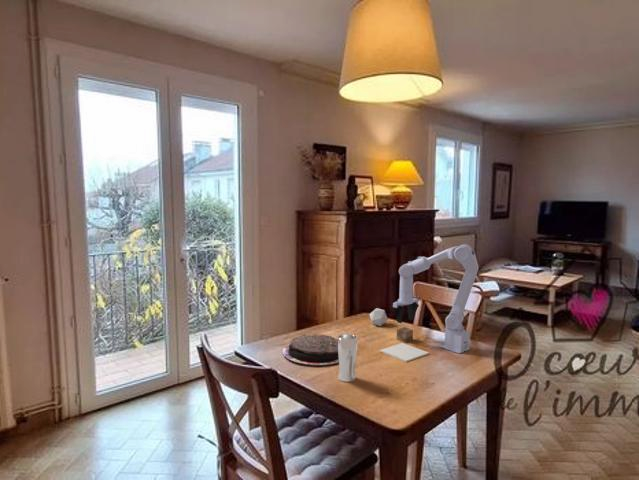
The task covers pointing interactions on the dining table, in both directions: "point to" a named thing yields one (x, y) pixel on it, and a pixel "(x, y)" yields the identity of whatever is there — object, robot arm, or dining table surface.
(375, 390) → the dining table surface
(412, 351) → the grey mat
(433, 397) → the dining table surface
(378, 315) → the die
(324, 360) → the chocolate cake
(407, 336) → the walnut cube
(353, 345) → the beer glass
